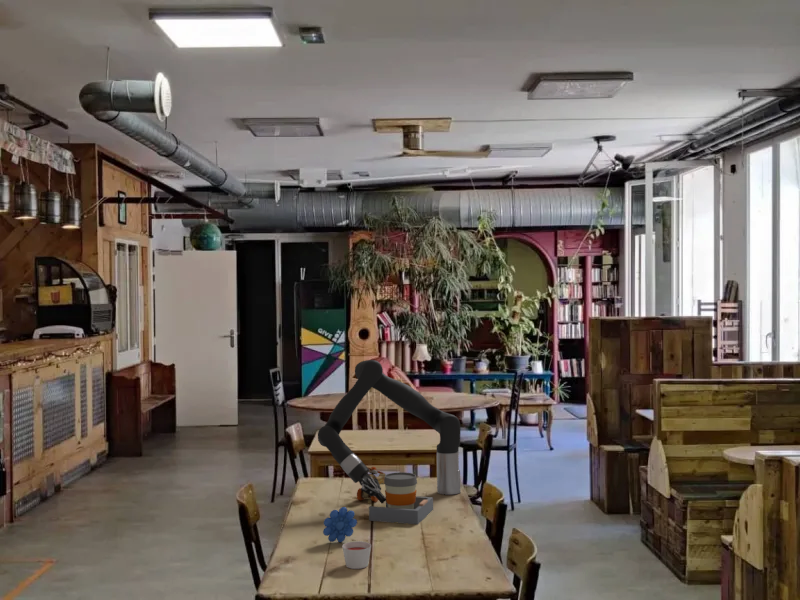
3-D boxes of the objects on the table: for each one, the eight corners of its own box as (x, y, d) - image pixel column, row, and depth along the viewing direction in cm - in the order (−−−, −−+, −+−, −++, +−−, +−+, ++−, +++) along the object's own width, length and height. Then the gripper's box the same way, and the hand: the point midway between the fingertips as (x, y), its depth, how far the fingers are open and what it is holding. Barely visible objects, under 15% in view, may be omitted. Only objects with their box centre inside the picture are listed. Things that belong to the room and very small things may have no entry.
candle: (356, 559, 263) (355, 539, 263) (377, 564, 257) (377, 544, 257) (336, 566, 256) (336, 546, 256) (358, 572, 250) (357, 551, 250)
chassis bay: (369, 520, 307) (368, 505, 307) (387, 506, 326) (386, 492, 326) (417, 524, 301) (417, 508, 301) (433, 510, 320) (432, 495, 319)
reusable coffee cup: (417, 510, 319) (417, 472, 319) (417, 519, 307) (416, 479, 307) (385, 510, 320) (384, 472, 320) (383, 519, 307) (383, 479, 307)
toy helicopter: (355, 502, 334) (354, 468, 333) (375, 490, 353) (374, 458, 353) (374, 503, 331) (373, 469, 331) (393, 491, 350) (392, 459, 350)
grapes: (356, 537, 286) (355, 503, 286) (357, 543, 279) (357, 508, 279) (322, 539, 284) (322, 504, 284) (323, 545, 278) (322, 509, 278)
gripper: (354, 464, 312) (385, 499, 308) (367, 457, 324) (396, 491, 321) (341, 477, 314) (372, 512, 310) (354, 470, 326) (383, 503, 322)
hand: (384, 501), depth 315 cm, fingers closed
